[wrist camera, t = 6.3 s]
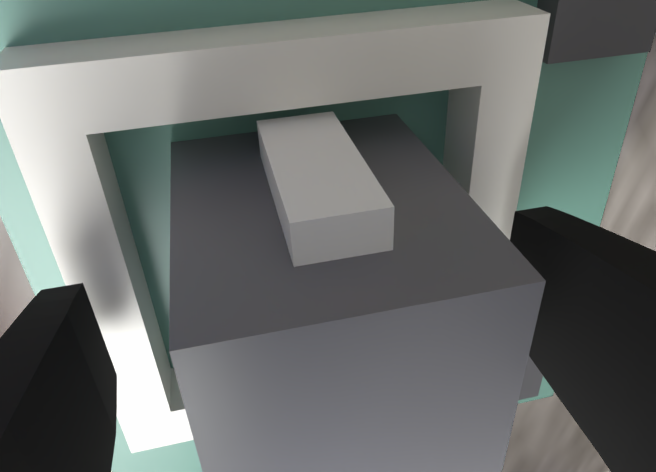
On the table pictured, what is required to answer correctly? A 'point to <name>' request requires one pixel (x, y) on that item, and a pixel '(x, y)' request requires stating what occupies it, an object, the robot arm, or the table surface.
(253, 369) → the plug
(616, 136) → the board
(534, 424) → the table surface
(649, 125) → the table surface
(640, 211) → the table surface
